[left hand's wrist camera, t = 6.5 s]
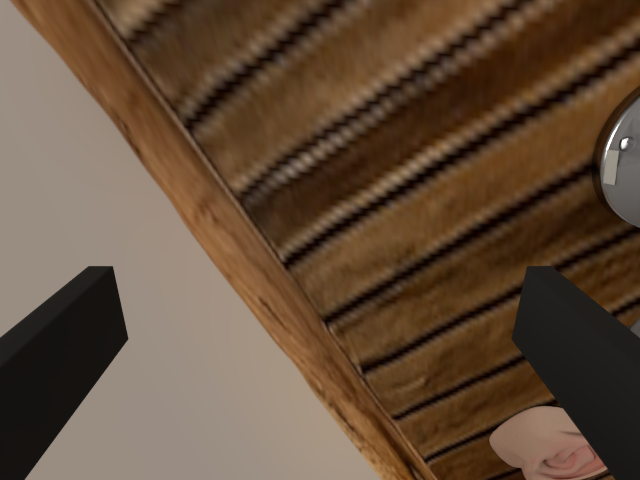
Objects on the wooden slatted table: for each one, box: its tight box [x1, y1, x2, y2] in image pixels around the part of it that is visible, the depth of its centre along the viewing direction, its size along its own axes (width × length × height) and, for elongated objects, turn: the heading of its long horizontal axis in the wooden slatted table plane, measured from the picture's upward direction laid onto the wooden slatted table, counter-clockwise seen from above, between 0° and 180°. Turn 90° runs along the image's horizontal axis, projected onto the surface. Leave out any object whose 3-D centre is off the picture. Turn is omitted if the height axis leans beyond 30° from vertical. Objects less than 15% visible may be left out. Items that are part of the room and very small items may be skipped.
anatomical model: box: [489, 406, 607, 480], centre depth 50 cm, size 13×4×12 cm
